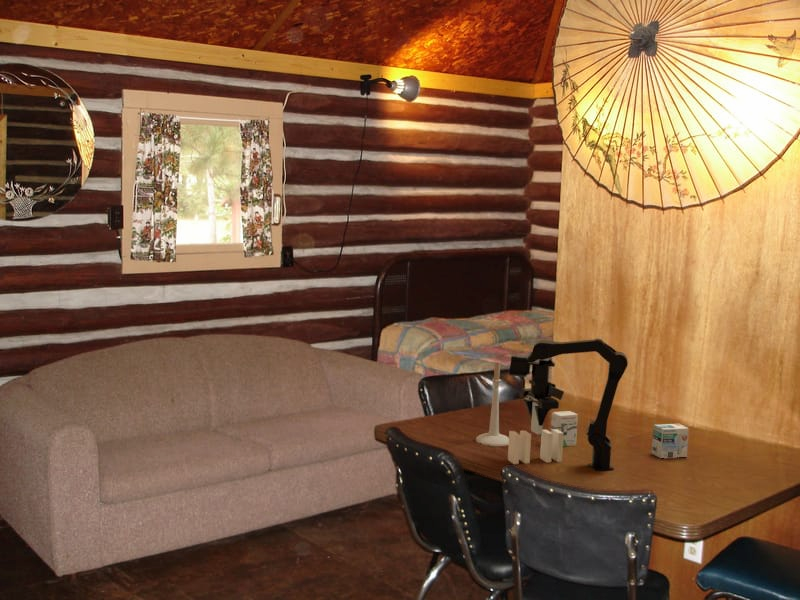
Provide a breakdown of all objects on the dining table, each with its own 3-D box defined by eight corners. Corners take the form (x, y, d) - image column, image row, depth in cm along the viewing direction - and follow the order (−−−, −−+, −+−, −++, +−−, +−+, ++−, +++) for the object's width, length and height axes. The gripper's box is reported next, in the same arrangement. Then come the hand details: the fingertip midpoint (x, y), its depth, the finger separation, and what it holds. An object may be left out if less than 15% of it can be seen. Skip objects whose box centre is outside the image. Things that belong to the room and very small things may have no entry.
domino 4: (551, 462, 305) (552, 433, 303) (546, 462, 304) (548, 433, 303) (544, 457, 309) (546, 429, 308) (540, 458, 309) (541, 429, 308)
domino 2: (529, 463, 302) (531, 434, 301) (524, 463, 302) (526, 434, 301) (523, 458, 307) (525, 430, 306) (518, 459, 307) (520, 430, 305)
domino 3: (542, 434, 302) (544, 405, 301) (537, 434, 301) (539, 405, 300) (535, 430, 307) (537, 401, 305) (530, 430, 306) (532, 401, 305)
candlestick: (470, 437, 332) (473, 357, 328) (501, 435, 336) (505, 356, 333) (485, 447, 320) (489, 364, 316) (517, 444, 324) (521, 363, 321)
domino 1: (518, 463, 301) (520, 434, 300) (513, 464, 301) (515, 435, 300) (512, 459, 306) (514, 430, 305) (507, 459, 306) (509, 431, 304)
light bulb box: (660, 459, 313) (663, 429, 312) (650, 453, 320) (652, 424, 319) (687, 457, 316) (690, 428, 315) (677, 452, 323) (679, 423, 321)
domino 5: (561, 461, 306) (563, 433, 305) (557, 461, 305) (558, 433, 304) (555, 457, 311) (557, 429, 309) (550, 457, 310) (552, 429, 309)
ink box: (557, 447, 323) (559, 415, 322) (549, 443, 327) (551, 412, 326) (576, 445, 327) (578, 413, 326) (568, 441, 331) (570, 410, 330)
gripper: (574, 383, 295) (571, 429, 297) (549, 372, 313) (546, 415, 315) (544, 384, 292) (541, 431, 294) (519, 372, 310) (517, 416, 311)
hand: (537, 423), depth 304 cm, fingers closed on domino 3, 5 cm apart
